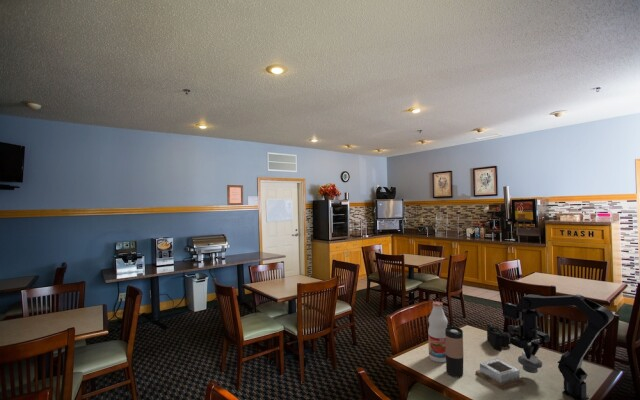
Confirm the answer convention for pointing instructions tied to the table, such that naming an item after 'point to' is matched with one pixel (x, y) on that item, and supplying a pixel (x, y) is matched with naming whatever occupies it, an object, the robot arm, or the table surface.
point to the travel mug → (454, 351)
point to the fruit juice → (437, 333)
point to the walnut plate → (503, 386)
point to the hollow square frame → (502, 377)
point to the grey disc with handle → (530, 363)
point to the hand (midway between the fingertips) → (529, 358)
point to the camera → (497, 337)
